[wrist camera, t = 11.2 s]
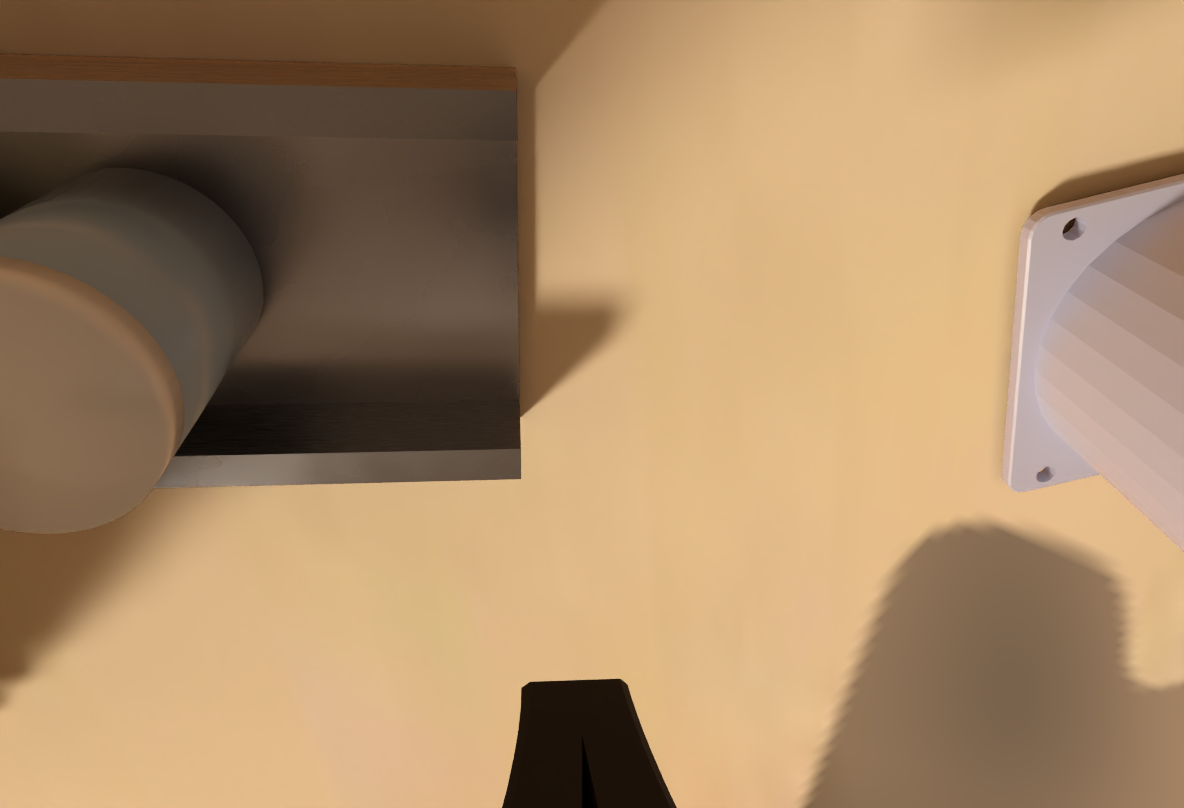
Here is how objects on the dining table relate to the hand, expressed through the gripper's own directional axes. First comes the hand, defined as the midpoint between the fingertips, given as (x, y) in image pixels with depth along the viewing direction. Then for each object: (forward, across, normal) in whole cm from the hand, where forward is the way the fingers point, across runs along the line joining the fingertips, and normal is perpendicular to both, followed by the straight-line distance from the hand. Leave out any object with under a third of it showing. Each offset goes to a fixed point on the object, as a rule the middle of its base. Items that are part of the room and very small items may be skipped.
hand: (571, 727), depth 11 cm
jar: (+9, +8, -3) cm, 12 cm away
